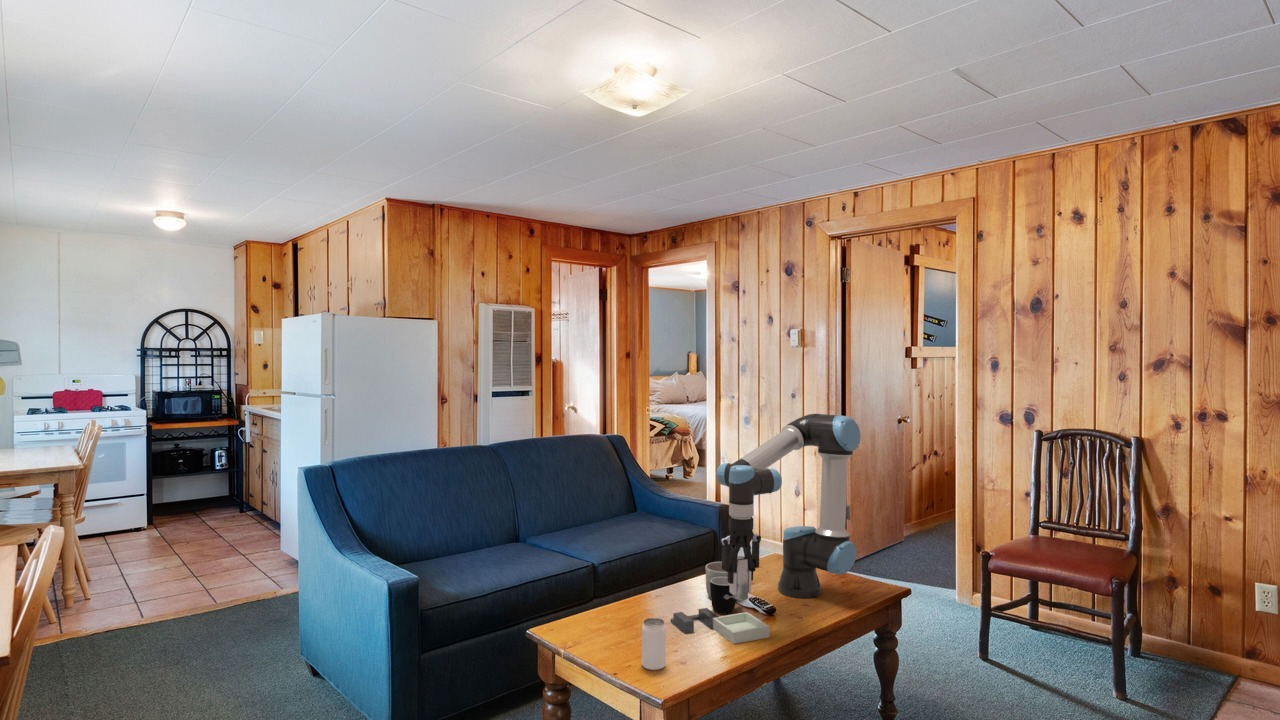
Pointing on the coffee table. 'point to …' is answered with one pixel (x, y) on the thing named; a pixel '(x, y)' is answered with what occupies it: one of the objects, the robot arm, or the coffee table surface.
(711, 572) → the planter
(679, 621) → the hitch clevis
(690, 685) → the coffee table surface
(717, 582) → the mug
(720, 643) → the coffee table surface
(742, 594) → the pin
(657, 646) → the can
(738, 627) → the tray
